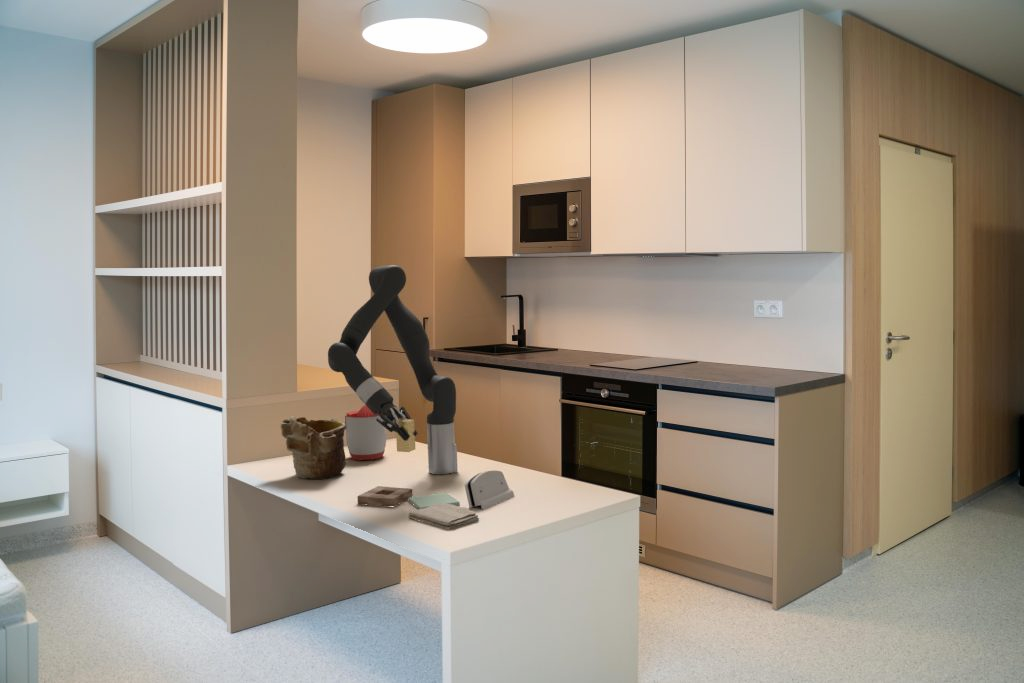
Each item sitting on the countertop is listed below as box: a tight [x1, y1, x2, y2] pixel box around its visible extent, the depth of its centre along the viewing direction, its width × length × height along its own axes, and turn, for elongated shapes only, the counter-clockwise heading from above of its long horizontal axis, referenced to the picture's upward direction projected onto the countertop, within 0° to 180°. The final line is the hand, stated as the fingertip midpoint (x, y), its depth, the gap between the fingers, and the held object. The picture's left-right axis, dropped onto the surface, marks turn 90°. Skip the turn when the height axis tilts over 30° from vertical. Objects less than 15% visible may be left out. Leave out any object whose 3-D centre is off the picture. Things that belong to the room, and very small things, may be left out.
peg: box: [395, 418, 416, 453], centre depth 246 cm, size 4×4×9 cm
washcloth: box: [408, 503, 480, 531], centre depth 228 cm, size 12×18×3 cm, turn 47°
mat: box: [407, 492, 461, 509], centre depth 245 cm, size 12×12×1 cm
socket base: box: [357, 485, 414, 507], centre depth 249 cm, size 12×12×2 cm
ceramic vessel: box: [280, 415, 347, 480], centre depth 283 cm, size 23×24×25 cm
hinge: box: [464, 470, 515, 510], centre depth 245 cm, size 17×5×10 cm, turn 146°
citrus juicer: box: [343, 404, 388, 461], centre depth 309 cm, size 16×17×20 cm
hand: (411, 437), depth 245 cm, fingers closed on peg, 4 cm apart
